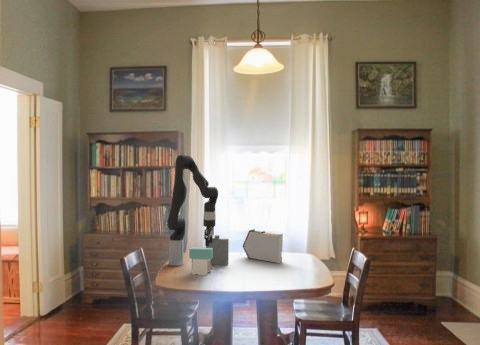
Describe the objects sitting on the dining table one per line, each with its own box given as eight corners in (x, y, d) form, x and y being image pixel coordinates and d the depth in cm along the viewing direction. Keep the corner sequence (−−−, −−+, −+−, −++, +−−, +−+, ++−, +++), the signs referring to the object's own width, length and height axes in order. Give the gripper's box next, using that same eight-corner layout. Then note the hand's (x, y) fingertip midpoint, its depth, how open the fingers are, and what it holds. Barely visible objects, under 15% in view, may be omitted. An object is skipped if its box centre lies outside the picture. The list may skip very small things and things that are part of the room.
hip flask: (228, 263, 244) (228, 235, 243) (227, 265, 239) (228, 236, 239) (205, 263, 245) (206, 234, 245) (204, 264, 241) (205, 235, 241)
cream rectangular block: (191, 274, 218) (191, 259, 218) (195, 270, 226) (195, 256, 226) (207, 275, 216) (207, 259, 216) (210, 271, 224) (210, 256, 224)
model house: (284, 232, 252) (248, 227, 268) (279, 233, 245) (242, 229, 261) (283, 261, 253) (248, 255, 269) (278, 264, 245) (242, 257, 261)
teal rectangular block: (189, 258, 220) (189, 248, 220) (191, 256, 224) (191, 247, 224) (211, 259, 218) (211, 249, 218) (212, 257, 222) (212, 248, 222)
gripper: (206, 216, 228) (206, 241, 228) (200, 219, 214) (199, 246, 214) (217, 217, 226) (217, 242, 227) (212, 220, 212) (211, 247, 213)
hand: (208, 244), depth 220 cm, fingers open, 8 cm apart
